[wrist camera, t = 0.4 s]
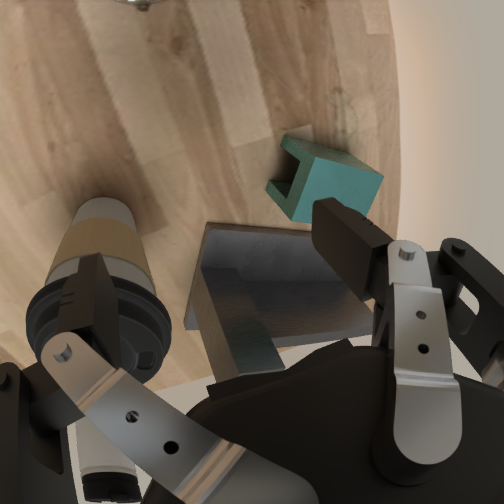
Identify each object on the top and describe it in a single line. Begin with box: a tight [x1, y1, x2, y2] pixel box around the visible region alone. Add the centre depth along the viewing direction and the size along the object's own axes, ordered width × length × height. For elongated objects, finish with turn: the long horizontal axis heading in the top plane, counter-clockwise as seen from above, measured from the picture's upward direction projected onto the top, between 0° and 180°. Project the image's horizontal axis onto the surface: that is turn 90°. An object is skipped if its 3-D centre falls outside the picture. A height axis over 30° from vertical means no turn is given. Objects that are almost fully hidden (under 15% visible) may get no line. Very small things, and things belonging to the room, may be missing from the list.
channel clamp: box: [265, 135, 384, 223], centre depth 29 cm, size 8×6×6 cm
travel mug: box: [75, 416, 142, 503], centre depth 29 cm, size 6×7×20 cm
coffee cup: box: [26, 197, 172, 384], centre depth 22 cm, size 9×9×15 cm
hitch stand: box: [184, 223, 374, 383], centre depth 34 cm, size 14×22×14 cm, turn 73°
